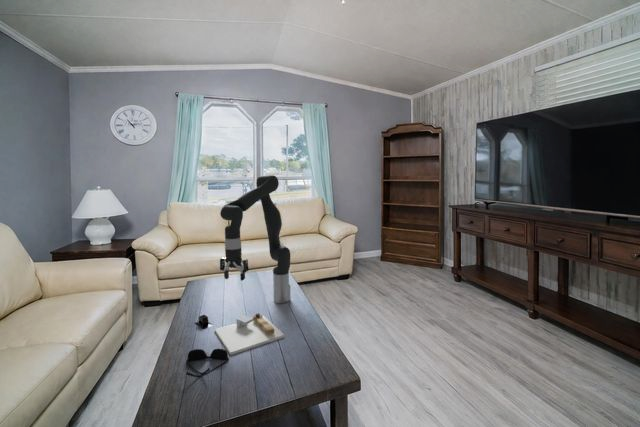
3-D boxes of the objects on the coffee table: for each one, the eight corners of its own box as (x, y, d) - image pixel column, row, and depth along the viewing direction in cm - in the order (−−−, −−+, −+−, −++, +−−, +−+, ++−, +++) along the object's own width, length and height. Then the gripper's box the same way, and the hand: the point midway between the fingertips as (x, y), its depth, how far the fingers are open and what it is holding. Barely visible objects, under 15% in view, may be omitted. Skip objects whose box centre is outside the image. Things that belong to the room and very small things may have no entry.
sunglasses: (172, 384, 107) (171, 371, 107) (188, 359, 121) (187, 348, 121) (220, 382, 108) (219, 369, 107) (230, 358, 122) (229, 346, 122)
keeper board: (263, 317, 157) (263, 307, 157) (284, 337, 138) (284, 325, 137) (214, 331, 143) (214, 320, 143) (230, 355, 124) (230, 342, 123)
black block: (216, 326, 149) (216, 317, 148) (202, 332, 144) (202, 323, 143) (204, 319, 157) (203, 310, 157) (190, 324, 152) (190, 315, 151)
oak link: (251, 319, 151) (251, 313, 151) (260, 317, 154) (259, 311, 153) (267, 335, 136) (266, 328, 136) (275, 332, 139) (275, 325, 138)
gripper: (250, 246, 146) (251, 278, 148) (224, 244, 149) (226, 275, 151) (242, 249, 138) (243, 283, 140) (215, 248, 142) (217, 280, 144)
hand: (234, 279), depth 146 cm, fingers open, 8 cm apart
